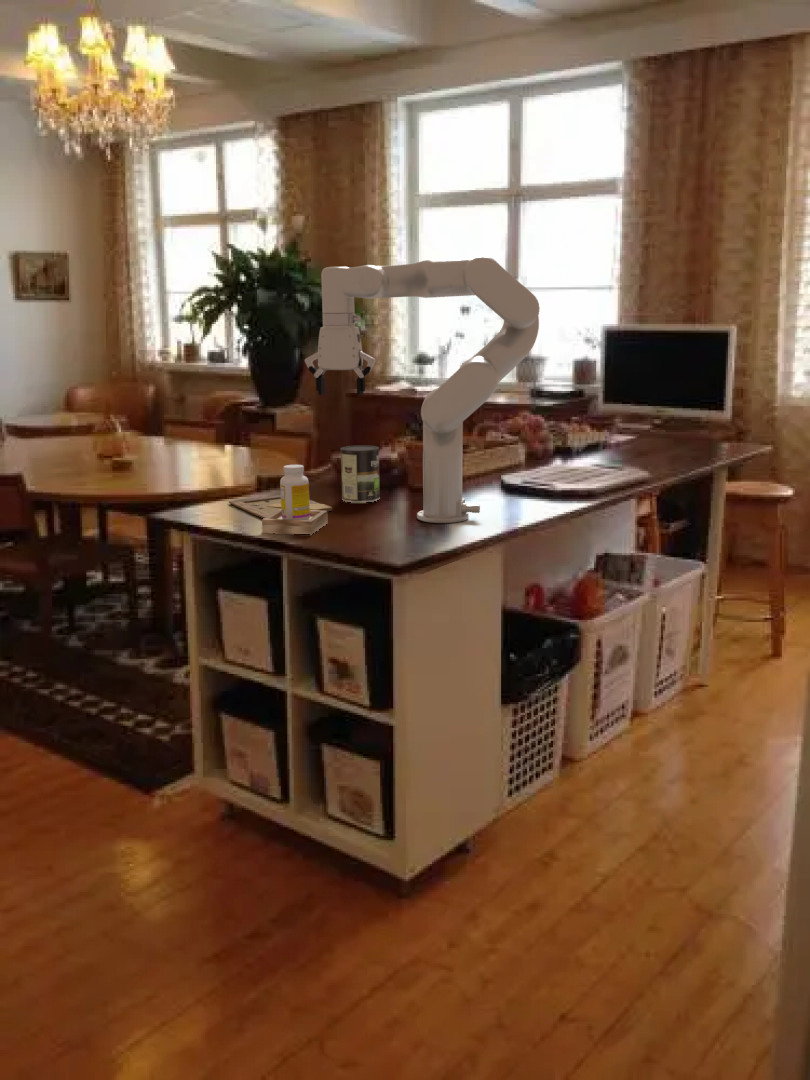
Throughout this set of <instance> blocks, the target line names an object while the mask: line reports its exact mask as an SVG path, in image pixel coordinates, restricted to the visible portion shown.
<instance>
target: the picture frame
mask: <svg viewBox="0 0 810 1080" xmlns="http://www.w3.org/2000/svg"><path fill="white" fill-rule="evenodd" d="M228 504H230V505H232V506H234V507H236V508H238V509H241V510H243V511H245V512H247V513H249V514H251V515H254V516H257V517H258V516H259V517H258V518H260V517H261V518H260V519H262V518H263V519H264V518H265V517H267V516H269V515H271V514H272V513H274V512H276V511H277V510H279V509H281V494H277V495H269V496H260V497H253V498H251V497H250V498H245V499H236V500H235V499H234V500H229V501H228ZM309 504H310V510H323V511H333V507H332V506H330V505H327V504H324V503H319V502H316V501H314V500H311V499H309Z"/></svg>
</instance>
